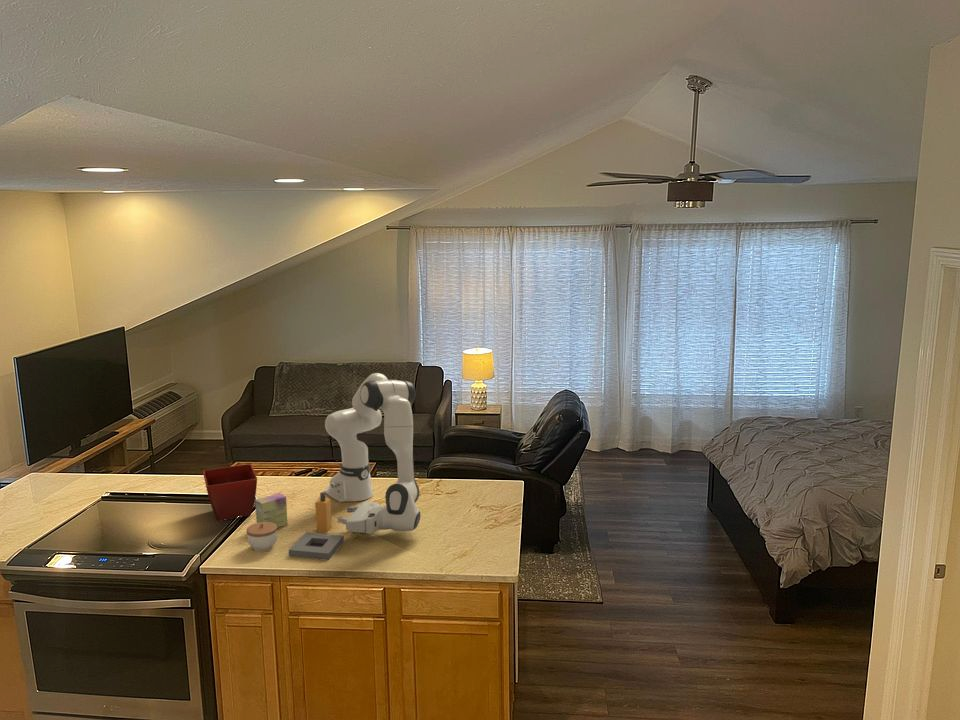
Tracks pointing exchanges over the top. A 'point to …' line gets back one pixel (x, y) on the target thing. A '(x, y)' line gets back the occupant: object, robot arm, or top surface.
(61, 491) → the top surface
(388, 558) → the top surface
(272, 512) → the box
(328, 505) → the plug
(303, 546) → the socket
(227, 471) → the plant pot
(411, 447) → the robot arm
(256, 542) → the lidded jar
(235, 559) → the top surface
